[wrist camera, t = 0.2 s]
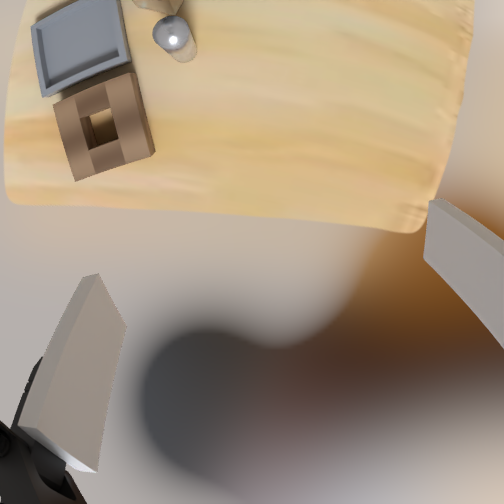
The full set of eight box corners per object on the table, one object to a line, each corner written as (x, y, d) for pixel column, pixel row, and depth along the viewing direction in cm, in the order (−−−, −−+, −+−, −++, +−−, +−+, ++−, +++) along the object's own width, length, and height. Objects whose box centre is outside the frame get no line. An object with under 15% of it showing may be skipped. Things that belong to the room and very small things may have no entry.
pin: (170, 44, 27) (149, 21, 17) (194, 38, 27) (185, 12, 17) (175, 65, 29) (155, 51, 18) (199, 59, 29) (191, 42, 18)
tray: (38, 28, 22) (30, 26, 20) (118, -10, 22) (113, -15, 21) (49, 96, 28) (42, 97, 26) (131, 61, 28) (127, 60, 26)
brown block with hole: (63, 103, 28) (52, 104, 26) (136, 73, 28) (129, 72, 26) (84, 174, 33) (75, 181, 31) (155, 151, 34) (150, 156, 31)
